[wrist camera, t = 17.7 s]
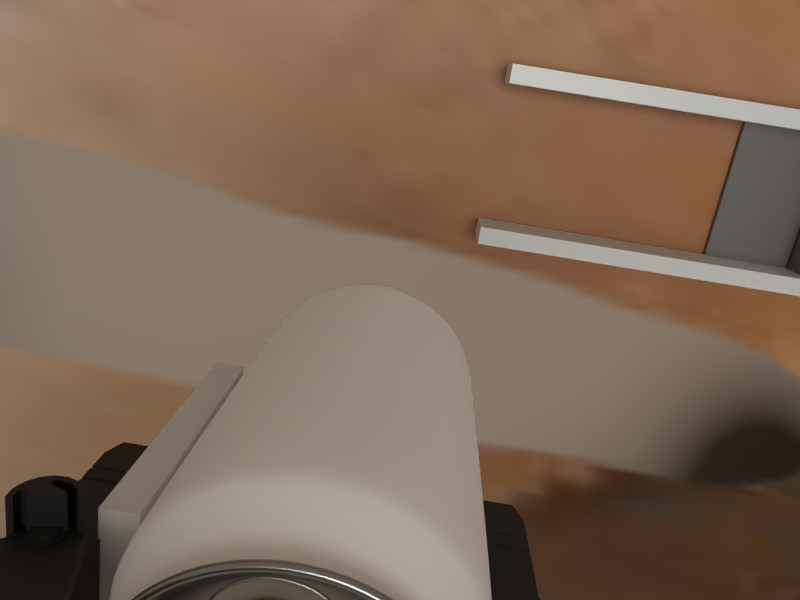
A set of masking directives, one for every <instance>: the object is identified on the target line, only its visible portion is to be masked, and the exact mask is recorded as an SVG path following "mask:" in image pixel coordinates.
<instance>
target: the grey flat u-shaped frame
mask: <svg viewBox="0 0 800 600" xmlns="http://www.w3.org/2000/svg"><path fill="white" fill-rule="evenodd" d="M504 83H506V84H512V85H518V86H525V87H531V88H537V89H543V90H549V91H556V92H562V93H568V94H574V95H580V96H586V97H593V98H599V99H605V100H611V101H617V102H624V103H630V104H636V105H642V106H648V107H655V108H661V109H667V110H673V111H679V112H686V113H692V114H698V115H704V116H710V117H717V118H723V119H729V120H735V121H741V122H743V125H742V128H741V131H740V135H739V138H738V141H737V144H736V148H735V151H734V154H733V158H732V161H731V164H730V167H729V171H728V174H727V177H726V180H725V184H724V187H723V190H722V193H721V197H720V200H719V203H718V206H717V210H716V213H715V216H714V220H713V223H712V226H711V229H710V233H709V236H708V239H707V242H706V246H705V249H704V252H703V254H701V253H695V252H689V251H683V250H676V249H670V248H664V247H658V246H652V245H646V244H640V243H633V242H627V241H621V240H615V239H609V238H603V237H597V236H590V235H584V234H578V233H572V232H566V231H560V230H554V229H547V228H541V227H535V226H529V225H523V224H517V223H511V222H504V221H498V220H492V219H486V218H480V217H478V221H477V226H476V231H475V234H476V238H477V242H478V244H483V245H489V246H495V247H501V248H507V249H514V250H520V251H526V252H532V253H538V254H544V255H550V256H557V257H563V258H569V259H575V260H581V261H587V262H593V263H599V264H606V265H612V266H618V267H624V268H630V269H636V270H642V271H648V272H655V273H661V274H667V275H673V276H679V277H685V278H691V279H698V280H704V281H710V282H716V283H722V284H728V285H734V286H740V287H747V288H753V289H759V290H765V291H771V292H777V293H783V294H789V295H796V296H800V110H798V109H792V108H786V107H780V106H773V105H767V104H761V103H755V102H749V101H742V100H736V99H730V98H724V97H718V96H711V95H705V94H699V93H693V92H687V91H680V90H674V89H668V88H662V87H656V86H649V85H643V84H637V83H631V82H625V81H618V80H612V79H606V78H600V77H594V76H587V75H581V74H575V73H569V72H563V71H556V70H550V69H544V68H538V67H532V66H525V65H519V64H510V65H507V70H506V75H505V81H504Z"/></svg>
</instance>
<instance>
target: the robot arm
mask: <svg viewBox="0 0 800 600" xmlns="http://www.w3.org/2000/svg"><path fill="white" fill-rule="evenodd" d="M242 376H243V367H237V366H231V365H225V364H218V363H216V364H215V365H214V366H213V368H212V369H211V370H210V371H209V373H208V374H207V375H206V376H205V378H204V379H203V380H202V381H201V382H200V384H199V385H198V386H197V387H196V388H195V390H194V391H193V392H192V393H191V395H190V396H189V397H188V398H187V399H186V401H185V402H184V403H183V404H182V406H181V407H180V408H179V409H178V411H177V412H176V413H175V414H174V415H173V417H172V418H171V419H170V420H169V422H168V423H167V424H166V425H165V427H164V428H163V429H162V430H161V431H160V433H159V434H158V435H157V436H156V438H155V439H154V440H153V441H152V443H151V444H150V445H149V446H143V445H137V444H131V443H125V442H124V443H122V444H120V445H118V446H116V447H114V448H112V449H111V450H109V451H107V452H105V453H104V454H103V455H102V456H101V457H100V458H99V459H98V461H97V462H96V463H95V464H94V465H93V467H92V468H90V469H89V470H88V471H87V472H86V474H85V475H84V476H83V478H82V479H80V480H79V481H77V480H74V479H72V478H70V477H63V476H46V477H38V478H35V479H32V480H28V481H25V482H23V483H21V484H20V485H18V486H16V487H14V488H13V489H12V490H11V491H10V492H9V493H8V494H7V495H6V496H5V510H6V537H5V538H1V539H0V600H109V598H110V593H111V588H112V584H113V580H114V576H115V573H116V570H117V568H118V565H119V563H120V561H121V559H122V557H123V555H124V553H125V551H126V549H127V547H128V545H129V543H130V541H131V539H132V538H133V536H134V534H135V533H136V531H137V530H138V528H139V527H140V525H141V523H142V522H143V520H144V519H145V517H146V516H147V514H148V512H149V511H150V510H151V508H152V507H153V505H154V504H155V502H156V501H157V499H158V498H159V496H160V495H161V493H162V492H163V490H164V489H165V487H166V486H167V484H168V483H169V481H170V480H171V479H172V477H173V476H174V474H175V473H176V471H177V470H178V468H179V467H180V465H181V464H182V463H183V461H184V460H185V458H186V457H187V455H188V454H189V452H190V451H191V450H192V448H193V447H194V445H195V444H196V442H197V441H198V439H199V438H200V436H201V435H202V434H203V432H204V431H205V429H206V428H207V426H208V425H209V423H210V422H211V421H212V419H213V418H214V416H215V415H216V413H217V412H218V411H219V409H220V408H221V406H222V405H223V403H224V402H225V400H226V399H227V398H228V396H229V395H230V393H231V392H232V390H233V389H234V388H235V386H236V385H237V383H238V382H239V380H240V379H241V378H242ZM483 506H484V516H485V527H486V538H487V549H488V560H489V571H490V583H491V596H492V600H540V599H539V597H538V592H537V587H536V582H535V577H534V571H533V566H532V561H531V556H530V553H529V546H528V540H527V535H526V530H525V525H524V520H523V519H522V518H521V516H520V515H519V514H518V512H517V511H516V510H515V508H514V507H513V506H512V505H507V504H501V503H495V502H489V501H483Z"/></svg>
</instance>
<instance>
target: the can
mask: <svg viewBox="0 0 800 600" xmlns="http://www.w3.org/2000/svg"><path fill="white" fill-rule="evenodd" d="M472 396H473V395H472V387H471V379H470V373H469V367H468V363H467V359H466V356H465V353H464V351H463V348H462V346H461V344H460V342H459V340H458V338H457V336H456V335H455V333H454V332H453V330H452V329H451V328H450V326H449V325H448V324H447V323H446V321H445V320H444V319H443V318H442V317H441V316H440V315H439V314H438V313H437V312H435V311H434V310H433V309H432V308H430V307H429V306H427V305H426V304H425V303H423V302H422V301H420V300H419V299H417V298H415V297H413V296H411V295H409V294H407V293H404V292H402V291H399V290H397V289H394V288H391V287H387V286H382V285H370V284H369V285H368V284H364V285H351V286H345V287H340V288H335V289H332V290H328V291H325V292H322V293H319V294H317V295H315V296H313V297H311V298H309V299H307V300H306V301H304V302H303V303H301V304H300V305H299V306H297V307H296V308H295V309H294V310H293V311H292V312H291V313H290V314H288V315H287V316H286V318H285V319H284V320H283V321H282V322H281V323H280V325H279V326H278V327H277V328H276V330H275V331H274V332H273V334H272V335H271V337H270V338H269V339H268V341H267V342H266V343H265V345H264V346H263V348H262V349H261V351H260V352H259V353H258V355H257V356H256V358H255V359H254V360H253V362H252V363H251V365H250V366H249V368H248V369H247V370H246V372H245V373H244V375H243V376H242V378H241V379H240V380H239V382H238V383H237V385H236V386H235V388H234V389H233V390H232V392H231V393H230V395H229V396H228V398H227V399H226V400H225V402H224V403H223V405H222V406H221V408H220V409H219V411H218V412H217V413H216V415H215V416H214V418H213V419H212V421H211V422H210V423H209V425H208V426H207V428H206V429H205V431H204V432H203V434H202V435H201V436H200V438H199V439H198V441H197V442H196V444H195V445H194V447H193V448H192V450H191V451H190V452H189V454H188V455H187V457H186V458H185V460H184V461H183V463H182V464H181V465H180V467H179V468H178V470H177V471H176V473H175V474H174V476H173V477H172V479H171V480H170V481H169V483H168V484H167V486H166V487H165V489H164V490H163V492H162V493H161V495H160V496H159V498H158V499H157V501H156V502H155V504H154V505H153V507H152V508H151V510H150V511H149V512H148V514H147V516H146V517H145V519H144V520H143V522H142V523H141V525H140V527H139V528H138V530H137V531H136V533H135V534H134V536H133V538H132V539H131V541H130V543H129V545H128V547H127V549H126V551H125V553H124V555H123V557H122V559H121V561H120V563H119V565H118V568H117V570H116V573H115V576H114V580H113V584H112V588H111V593H110V598H109V600H492V596H491V583H490V571H489V560H488V549H487V538H486V527H485V516H484V506H483V495H482V485H481V474H480V464H479V454H478V444H477V434H476V424H475V414H474V405H473V397H472Z"/></svg>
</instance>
